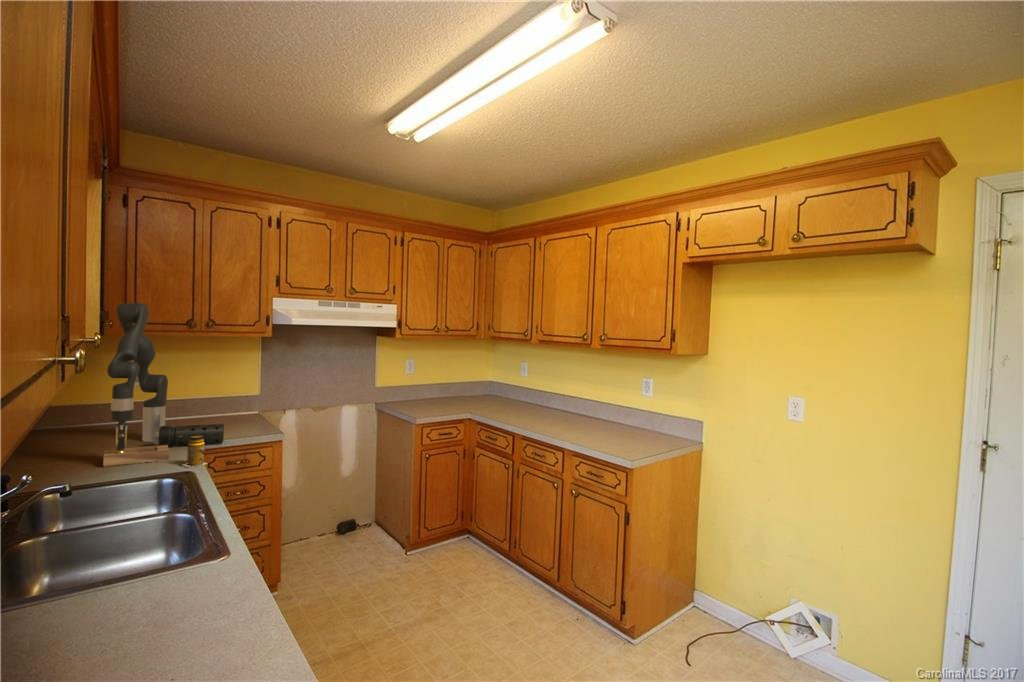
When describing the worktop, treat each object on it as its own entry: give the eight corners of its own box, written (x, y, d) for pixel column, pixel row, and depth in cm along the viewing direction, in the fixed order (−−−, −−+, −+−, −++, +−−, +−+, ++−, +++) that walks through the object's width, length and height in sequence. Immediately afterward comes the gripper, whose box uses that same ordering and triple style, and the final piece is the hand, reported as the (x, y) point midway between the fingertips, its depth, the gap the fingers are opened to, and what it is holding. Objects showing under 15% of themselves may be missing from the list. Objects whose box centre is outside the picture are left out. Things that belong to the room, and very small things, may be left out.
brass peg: (113, 461, 209) (114, 428, 208) (128, 460, 212) (129, 427, 211) (112, 464, 205) (113, 431, 204) (128, 463, 208) (129, 430, 208)
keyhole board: (104, 460, 210) (104, 450, 209) (167, 454, 223) (167, 444, 223) (103, 467, 200) (103, 456, 200) (168, 460, 214) (169, 450, 214)
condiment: (208, 463, 212) (209, 436, 212) (187, 468, 204) (188, 439, 204) (198, 461, 215) (199, 434, 215) (177, 465, 208) (178, 437, 208)
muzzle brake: (222, 445, 244) (223, 425, 244) (153, 450, 230) (154, 428, 230) (223, 441, 252) (224, 421, 252) (156, 445, 238) (157, 424, 238)
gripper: (111, 406, 211) (110, 444, 211) (110, 411, 200) (109, 451, 200) (133, 405, 216) (132, 442, 216) (133, 410, 205) (132, 449, 205)
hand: (121, 446), depth 208 cm, fingers open, 8 cm apart
